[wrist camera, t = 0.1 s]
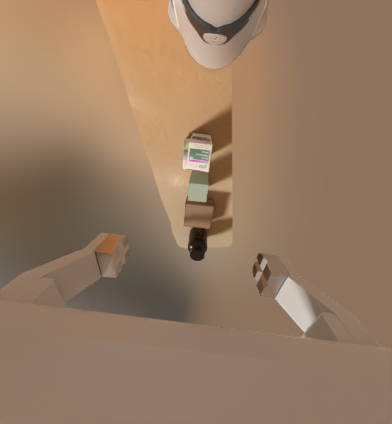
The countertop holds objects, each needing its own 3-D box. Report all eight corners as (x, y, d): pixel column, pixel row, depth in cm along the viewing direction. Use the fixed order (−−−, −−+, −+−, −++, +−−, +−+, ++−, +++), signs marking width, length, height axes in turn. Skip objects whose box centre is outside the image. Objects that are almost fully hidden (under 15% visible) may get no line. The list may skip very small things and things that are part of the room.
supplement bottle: (203, 240, 62) (202, 265, 51) (187, 236, 61) (184, 260, 51) (209, 228, 58) (210, 252, 48) (193, 223, 57) (190, 246, 47)
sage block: (192, 170, 46) (188, 183, 38) (208, 172, 46) (208, 185, 38) (190, 185, 49) (187, 200, 40) (206, 187, 49) (206, 202, 40)
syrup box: (211, 134, 40) (213, 142, 28) (208, 157, 43) (209, 173, 31) (190, 132, 40) (183, 139, 28) (188, 154, 43) (182, 170, 31)
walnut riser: (187, 196, 51) (185, 203, 47) (213, 199, 51) (213, 206, 47) (185, 217, 56) (183, 226, 52) (209, 220, 56) (209, 228, 52)
